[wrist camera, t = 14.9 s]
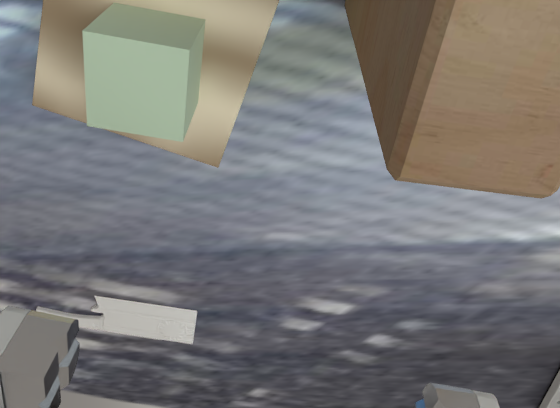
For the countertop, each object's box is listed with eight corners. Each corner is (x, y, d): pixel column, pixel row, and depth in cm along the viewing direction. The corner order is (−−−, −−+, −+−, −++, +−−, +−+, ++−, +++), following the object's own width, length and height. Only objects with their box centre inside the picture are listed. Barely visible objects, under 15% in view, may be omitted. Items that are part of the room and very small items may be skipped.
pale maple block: (227, 132, 38) (218, 167, 34) (62, 74, 36) (32, 105, 32) (286, -32, 31) (283, -12, 27) (88, -115, 29) (54, -107, 25)
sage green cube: (198, 102, 31) (182, 142, 27) (115, 87, 31) (87, 126, 27) (205, 19, 28) (189, 50, 24) (113, 2, 28) (82, 30, 24)
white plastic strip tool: (37, 276, 47) (32, 285, 47) (199, 302, 49) (197, 311, 48) (40, 315, 50) (35, 323, 49) (193, 338, 52) (191, 347, 51)
